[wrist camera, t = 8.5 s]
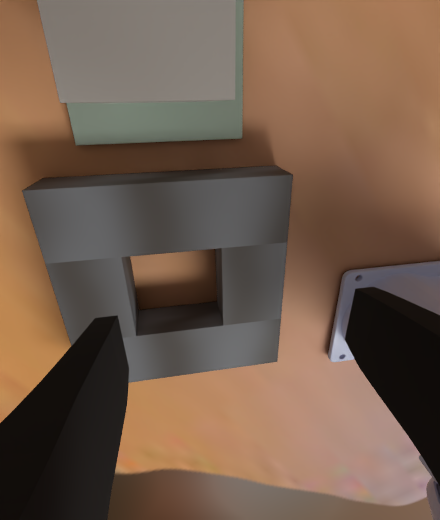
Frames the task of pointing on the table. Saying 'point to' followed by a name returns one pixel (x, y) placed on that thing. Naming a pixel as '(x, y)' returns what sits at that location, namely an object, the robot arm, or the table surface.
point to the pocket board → (168, 241)
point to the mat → (163, 114)
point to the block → (141, 50)
